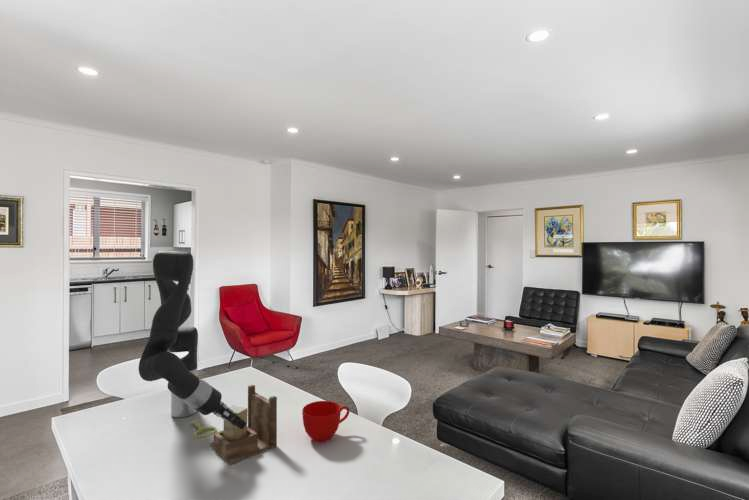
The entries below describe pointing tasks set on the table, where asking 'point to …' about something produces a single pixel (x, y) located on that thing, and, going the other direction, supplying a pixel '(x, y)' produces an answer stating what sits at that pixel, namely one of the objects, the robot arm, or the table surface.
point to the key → (202, 430)
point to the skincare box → (233, 431)
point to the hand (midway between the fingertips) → (237, 421)
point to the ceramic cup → (322, 419)
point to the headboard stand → (251, 430)
